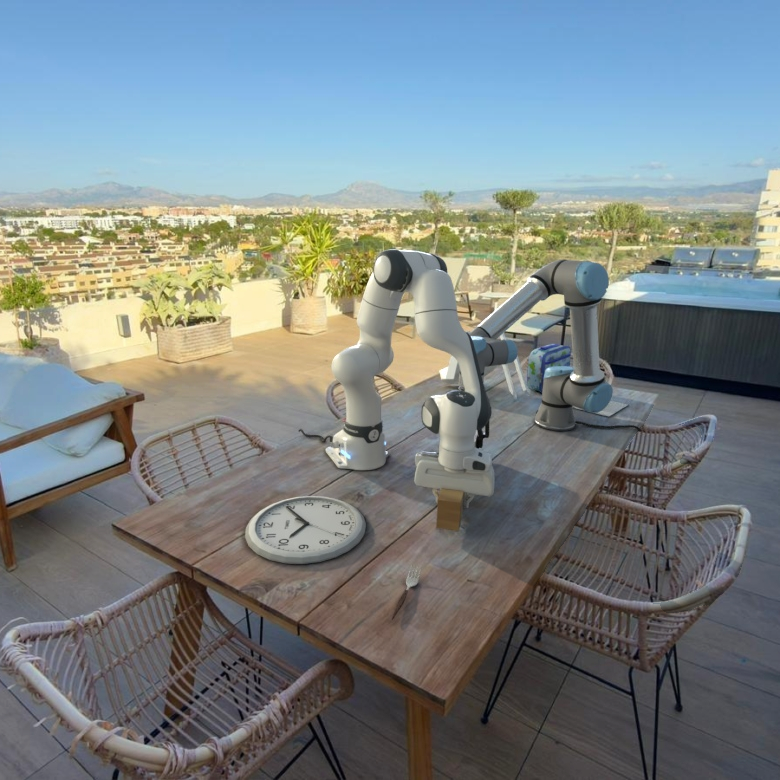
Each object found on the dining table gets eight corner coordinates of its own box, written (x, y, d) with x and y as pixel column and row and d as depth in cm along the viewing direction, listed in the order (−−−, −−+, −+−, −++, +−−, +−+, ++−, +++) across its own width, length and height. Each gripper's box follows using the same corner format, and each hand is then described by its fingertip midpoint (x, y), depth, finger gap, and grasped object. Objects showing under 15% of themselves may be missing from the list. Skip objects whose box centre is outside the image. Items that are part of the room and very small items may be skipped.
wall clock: (368, 555, 118) (233, 560, 116) (368, 561, 119) (233, 566, 116) (363, 491, 147) (255, 494, 144) (363, 496, 147) (255, 499, 145)
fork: (385, 619, 101) (385, 611, 101) (410, 571, 116) (411, 563, 115) (398, 623, 100) (398, 614, 100) (422, 574, 115) (422, 566, 114)
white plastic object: (461, 429, 252) (437, 405, 227) (444, 352, 274) (420, 323, 250) (535, 404, 240) (518, 377, 215) (510, 326, 262) (492, 293, 237)
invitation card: (608, 416, 214) (573, 407, 224) (608, 416, 214) (573, 408, 224) (628, 404, 229) (594, 396, 238) (628, 405, 229) (594, 397, 238)
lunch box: (542, 396, 239) (547, 351, 232) (522, 391, 246) (526, 347, 240) (570, 385, 256) (575, 343, 250) (550, 380, 263) (554, 339, 257)
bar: (460, 446, 176) (462, 424, 174) (477, 448, 175) (479, 426, 172) (436, 528, 129) (437, 499, 126) (458, 531, 128) (460, 502, 125)
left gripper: (412, 455, 130) (410, 504, 134) (496, 466, 125) (491, 516, 130) (417, 445, 135) (415, 492, 140) (497, 455, 131) (492, 504, 135)
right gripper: (438, 388, 160) (436, 457, 167) (501, 392, 156) (496, 463, 163) (442, 381, 167) (439, 448, 174) (502, 385, 163) (496, 453, 170)
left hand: (452, 504), depth 135 cm, fingers closed on bar, 5 cm apart
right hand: (466, 455), depth 168 cm, fingers closed on bar, 6 cm apart
